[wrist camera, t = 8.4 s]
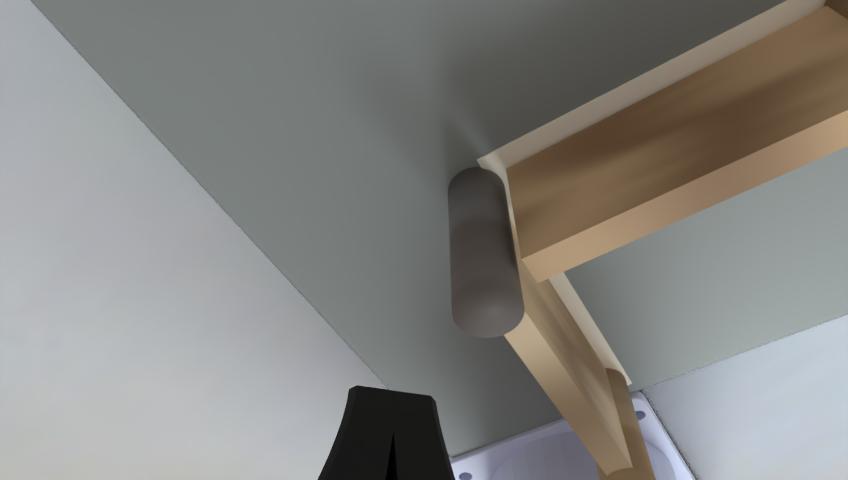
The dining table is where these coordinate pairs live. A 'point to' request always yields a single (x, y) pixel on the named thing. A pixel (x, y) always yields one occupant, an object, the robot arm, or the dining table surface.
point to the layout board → (456, 151)
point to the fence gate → (686, 146)
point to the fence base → (536, 326)
